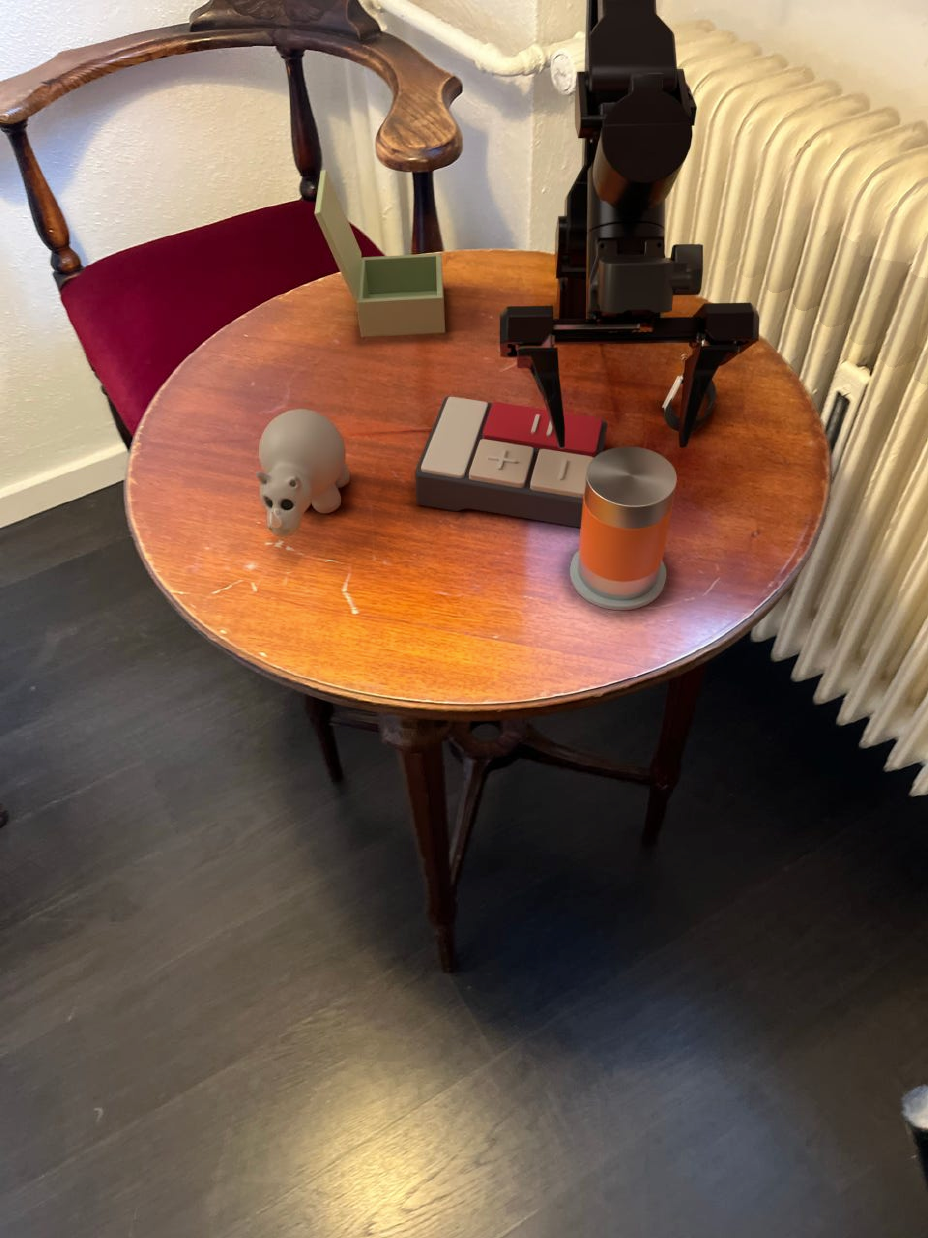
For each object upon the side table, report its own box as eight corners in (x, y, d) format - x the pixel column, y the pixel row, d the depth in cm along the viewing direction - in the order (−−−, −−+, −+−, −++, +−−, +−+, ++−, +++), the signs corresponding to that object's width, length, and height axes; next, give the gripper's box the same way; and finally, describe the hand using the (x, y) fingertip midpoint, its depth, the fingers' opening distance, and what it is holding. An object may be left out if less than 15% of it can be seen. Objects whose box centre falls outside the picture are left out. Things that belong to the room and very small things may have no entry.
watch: (673, 383, 87) (679, 351, 84) (721, 394, 86) (728, 362, 83) (651, 431, 83) (656, 399, 80) (701, 442, 81) (708, 410, 79)
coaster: (656, 538, 74) (657, 533, 74) (673, 608, 69) (674, 603, 69) (565, 542, 74) (565, 538, 74) (575, 613, 69) (576, 609, 69)
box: (443, 292, 99) (441, 252, 96) (445, 337, 94) (442, 297, 90) (364, 296, 99) (359, 257, 96) (361, 341, 94) (356, 302, 90)
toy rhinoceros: (240, 559, 74) (214, 482, 68) (287, 464, 82) (268, 387, 75) (323, 569, 73) (304, 493, 67) (362, 473, 81) (349, 395, 74)
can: (570, 545, 73) (577, 450, 65) (647, 536, 73) (664, 441, 66) (586, 605, 69) (595, 511, 61) (668, 595, 69) (688, 501, 62)
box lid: (326, 168, 88) (320, 170, 89) (320, 211, 83) (314, 213, 83) (361, 253, 95) (356, 255, 96) (358, 297, 90) (352, 299, 90)
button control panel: (592, 497, 72) (413, 467, 74) (586, 534, 75) (414, 504, 77) (609, 413, 79) (445, 387, 81) (603, 450, 82) (445, 425, 84)
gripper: (498, 198, 59) (498, 438, 60) (786, 192, 58) (777, 436, 59) (500, 249, 70) (500, 451, 72) (742, 245, 69) (736, 450, 71)
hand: (622, 447), depth 68 cm, fingers open, 9 cm apart
